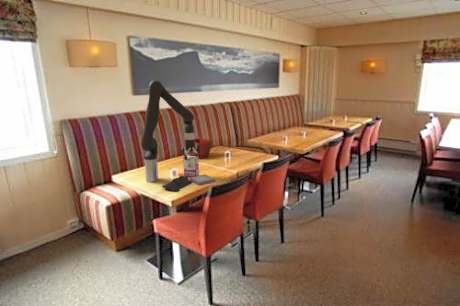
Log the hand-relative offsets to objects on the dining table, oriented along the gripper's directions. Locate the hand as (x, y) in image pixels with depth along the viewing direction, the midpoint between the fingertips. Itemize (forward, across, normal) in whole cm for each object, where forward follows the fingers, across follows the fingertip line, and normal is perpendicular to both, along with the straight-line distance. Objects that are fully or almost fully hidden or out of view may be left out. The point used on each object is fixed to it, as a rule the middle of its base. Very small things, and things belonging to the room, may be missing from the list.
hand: (190, 159), depth 228 cm
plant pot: (+14, -37, -52) cm, 65 cm away
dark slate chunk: (+15, +18, +10) cm, 25 cm away
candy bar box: (+14, 0, 0) cm, 15 cm away
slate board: (+14, -1, +14) cm, 20 cm away
